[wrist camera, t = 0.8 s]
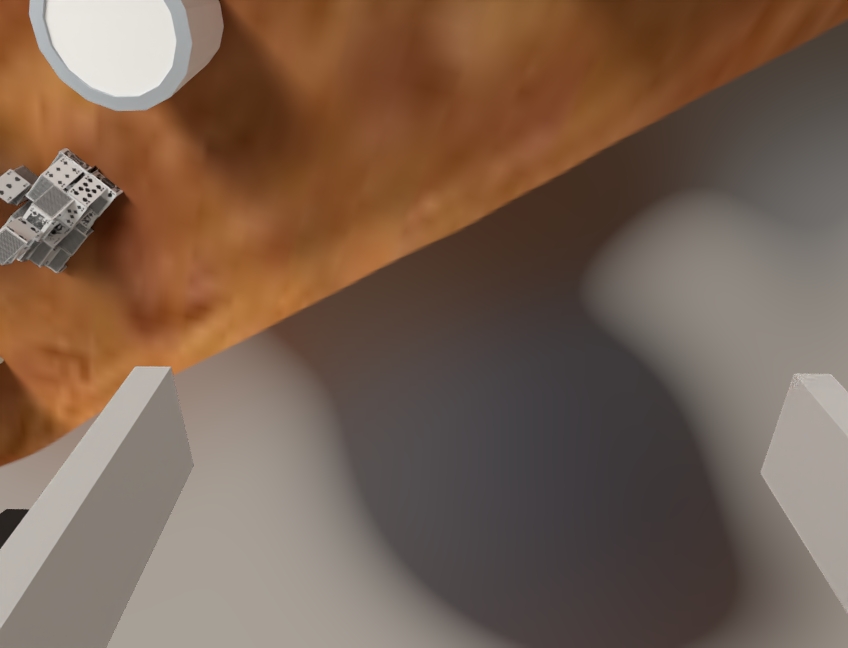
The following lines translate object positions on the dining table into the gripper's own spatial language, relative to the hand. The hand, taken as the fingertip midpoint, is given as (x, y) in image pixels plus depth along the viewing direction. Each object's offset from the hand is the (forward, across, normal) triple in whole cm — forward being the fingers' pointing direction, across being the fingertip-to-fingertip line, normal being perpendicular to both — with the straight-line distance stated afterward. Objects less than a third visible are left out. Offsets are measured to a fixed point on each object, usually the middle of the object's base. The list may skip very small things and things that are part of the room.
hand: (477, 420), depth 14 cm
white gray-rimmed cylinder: (+26, -15, +6) cm, 30 cm away
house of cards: (+26, -24, -2) cm, 36 cm away
